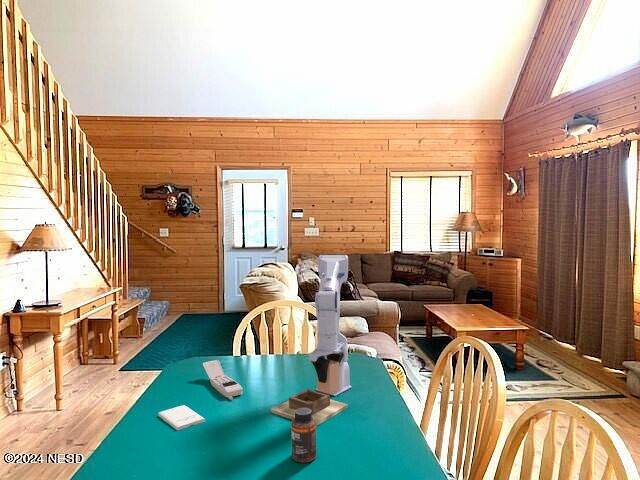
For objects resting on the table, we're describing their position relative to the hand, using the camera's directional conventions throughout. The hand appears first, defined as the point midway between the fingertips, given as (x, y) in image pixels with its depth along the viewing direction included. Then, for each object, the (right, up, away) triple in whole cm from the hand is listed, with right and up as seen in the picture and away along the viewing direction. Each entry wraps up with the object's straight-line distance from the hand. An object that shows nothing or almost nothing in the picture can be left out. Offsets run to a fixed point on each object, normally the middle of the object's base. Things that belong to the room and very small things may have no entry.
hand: (327, 379), depth 139 cm
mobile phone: (-34, -9, +21) cm, 41 cm away
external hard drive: (-41, -11, -2) cm, 43 cm away
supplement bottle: (-6, -12, -24) cm, 27 cm away
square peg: (0, -3, 0) cm, 3 cm away
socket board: (-5, -10, +3) cm, 11 cm away
